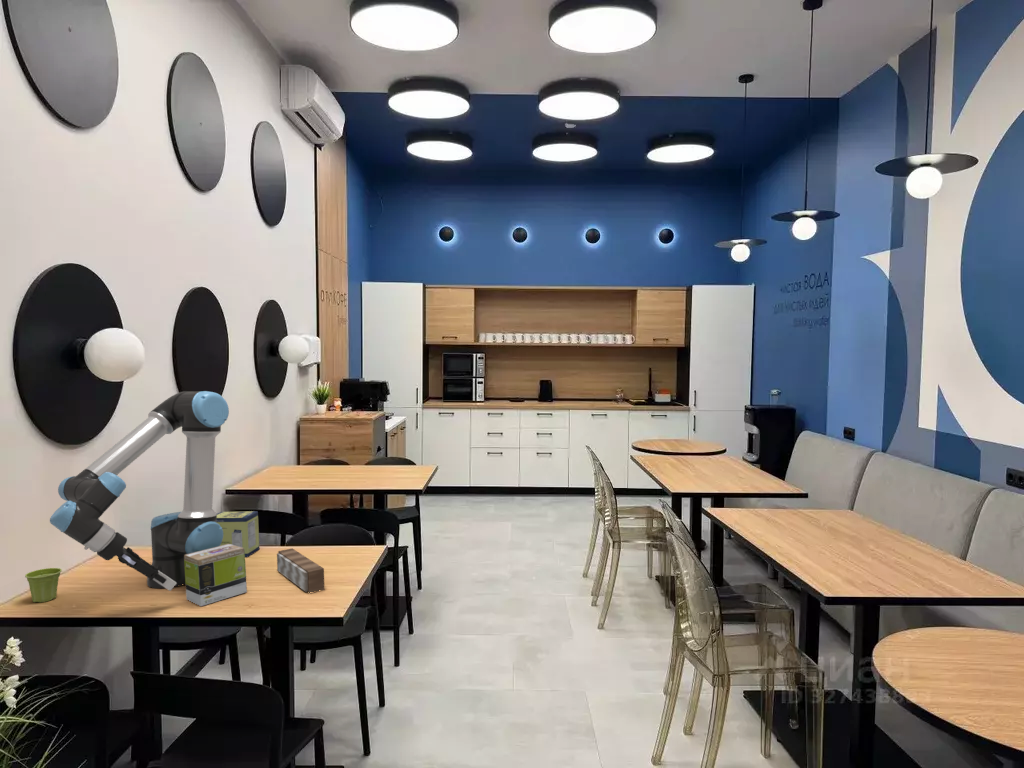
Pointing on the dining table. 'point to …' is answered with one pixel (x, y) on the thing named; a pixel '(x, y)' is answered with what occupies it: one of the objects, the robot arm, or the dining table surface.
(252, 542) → the protein box
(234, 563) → the tea box
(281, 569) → the bar
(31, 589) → the plant pot
